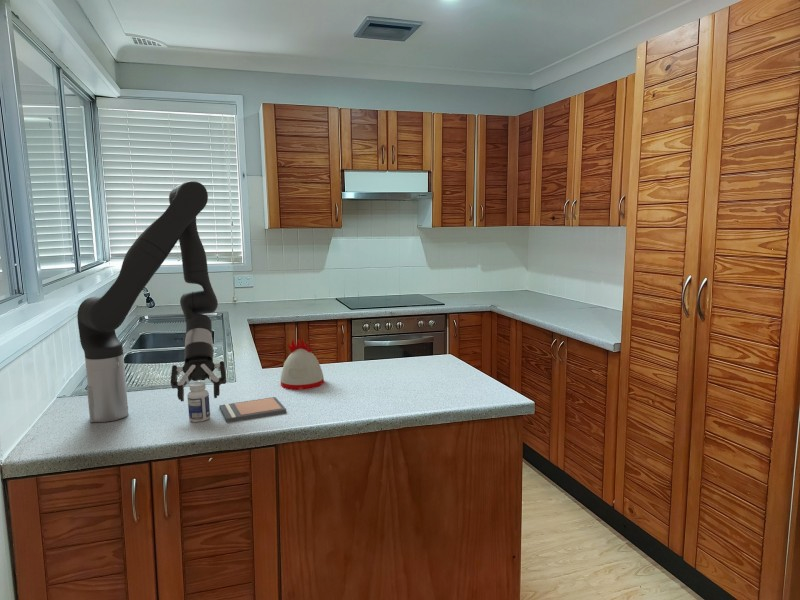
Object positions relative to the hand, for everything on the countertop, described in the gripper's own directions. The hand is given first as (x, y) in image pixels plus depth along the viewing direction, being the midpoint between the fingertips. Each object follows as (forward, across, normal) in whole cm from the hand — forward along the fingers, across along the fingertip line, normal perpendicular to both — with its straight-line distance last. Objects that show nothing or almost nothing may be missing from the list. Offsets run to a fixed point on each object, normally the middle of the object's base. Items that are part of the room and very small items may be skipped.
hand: (198, 398), depth 150 cm
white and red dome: (-14, +30, +23) cm, 40 cm away
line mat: (+2, +14, +6) cm, 15 cm away
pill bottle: (+4, 0, +4) cm, 6 cm away
